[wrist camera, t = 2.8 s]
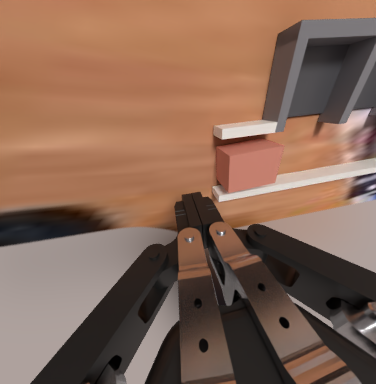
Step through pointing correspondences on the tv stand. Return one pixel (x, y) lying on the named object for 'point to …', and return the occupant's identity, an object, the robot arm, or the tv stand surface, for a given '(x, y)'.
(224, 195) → the box
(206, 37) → the tv stand surface
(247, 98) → the tv stand surface
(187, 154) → the tv stand surface
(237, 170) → the red block
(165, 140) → the tv stand surface
